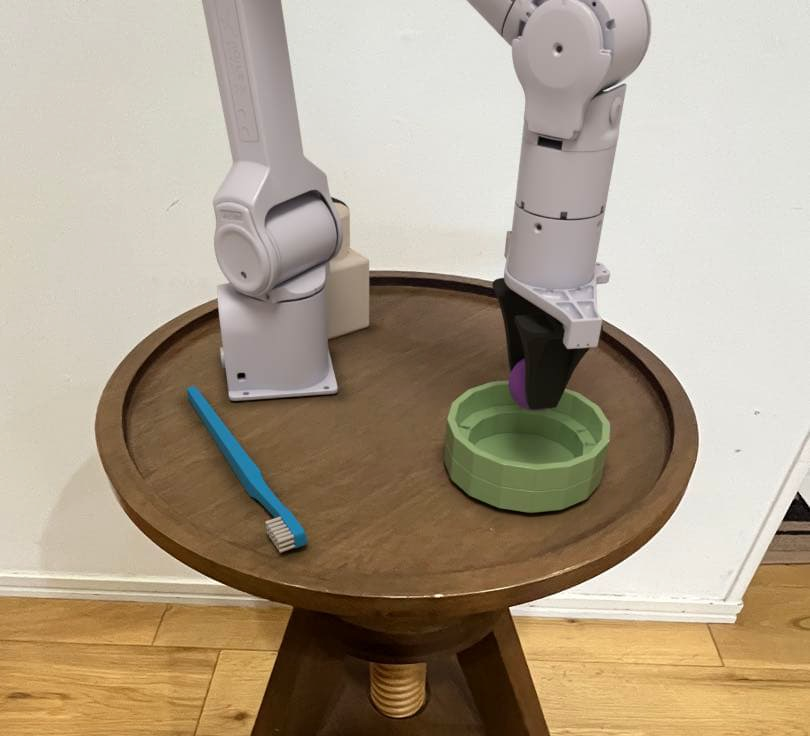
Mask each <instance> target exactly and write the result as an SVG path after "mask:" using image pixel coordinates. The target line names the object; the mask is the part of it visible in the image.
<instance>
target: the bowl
mask: <svg viewBox="0 0 810 736" xmlns="http://www.w3.org/2000/svg"><path fill="white" fill-rule="evenodd" d="M508 384H509V379H508V380H493V381H490V382H487V383H483V384H481V385H478V386H474V387H471V388H469V389H466V391H465V392H464V393H462V394H461V395H460V396H458V397H457V398H456V399H454V400H453V401H452V402H451V405H450V408H449V411H448V414H447V418H446V428H445V429H446V430H445V444H444V456H443V458H444V459H443V461H444V465H445V467H446V469H447V472H448V475H449V478H450V479H451V481H452V482H453V483H455V485H457V486H458V487H459V488H460V489H461V490H462V491H463V492H464V493H466V494H467V495H468V496H469V497H471V498H474V499H476V500H479V501H481V502H483V503H485V504H488V505H490V506H492V507H495V508H498V509H503V510H508V511H516V512H520V513H521V512H522V513H528V514H530V513H531V514H535V513H544V512H554V511H561V510H564V509H567V508H569V507H571V506H574V505H576V504H579V503H580V502H584V501H585V500H588V498H589V497H590V496H591V495H592V494H593V492H594V491H595V490H596V489H597V488H598V487H599V486H600V484H601V481H602V478H603V477H602V476H603V472H604V469H605V468H604V467H605V463H606V458H607V455H608V454H607V453H608V450H609V445H610V437H611V436H610V435H611V422H610V421H609V420H608V419H607V416H606V415H605V413H604V412H603V410H602V409H601V407H600V406H599V405H598V404H596V403H594V402H593V401H592V400H590V399H589V398H587V397H585V396H584V395H583V394H581V393H580V392H578V391H574V390H572V389H569V388H567V387H566V388H565V391H564V393H563V395H562V397H561V399H560V401H559V403H558V405H557V407H556V408H546V409H544V410H539V411H531V410H527V409H524V408H522V407H521V406H519V405H518V404H517V403H516V402H515V401H514V400H513V398H512V396H511V394H510V391H509V385H508Z"/></svg>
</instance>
